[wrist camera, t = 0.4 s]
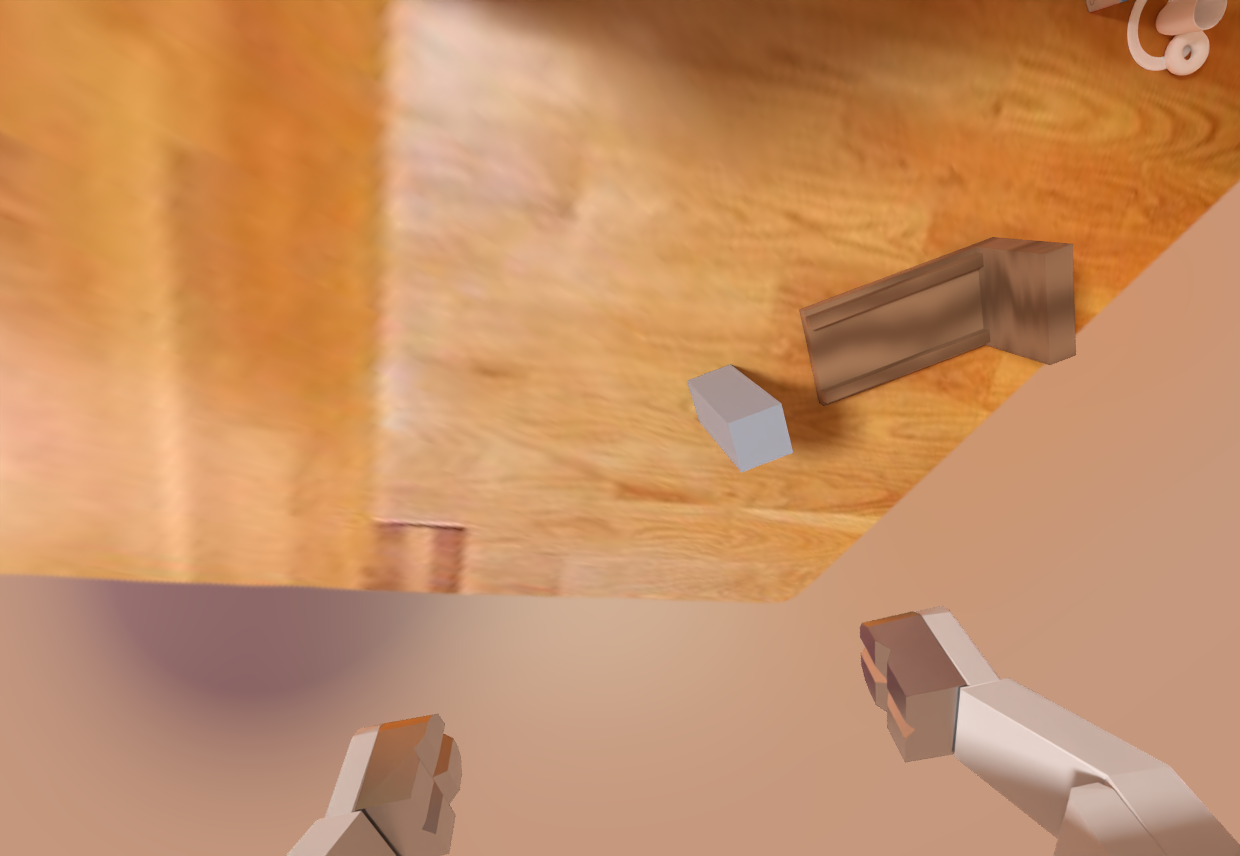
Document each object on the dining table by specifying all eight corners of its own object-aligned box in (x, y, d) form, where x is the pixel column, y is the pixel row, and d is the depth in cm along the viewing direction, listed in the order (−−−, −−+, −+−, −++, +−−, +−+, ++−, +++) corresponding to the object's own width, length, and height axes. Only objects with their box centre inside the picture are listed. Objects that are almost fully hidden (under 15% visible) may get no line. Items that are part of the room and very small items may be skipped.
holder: (799, 309, 58) (847, 328, 49) (992, 237, 58) (1072, 244, 50) (819, 402, 61) (867, 434, 53) (1000, 334, 62) (1075, 355, 54)
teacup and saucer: (1193, 73, 56) (1242, 64, 52) (1116, 89, 56) (1159, 81, 52) (1210, -41, 53) (1264, -59, 49) (1128, -25, 52) (1176, -42, 48)
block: (686, 380, 58) (727, 423, 47) (730, 364, 58) (781, 403, 47) (699, 421, 60) (741, 472, 49) (741, 405, 60) (793, 452, 49)
